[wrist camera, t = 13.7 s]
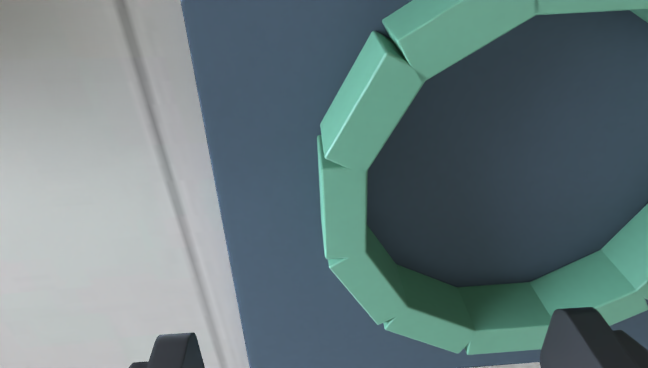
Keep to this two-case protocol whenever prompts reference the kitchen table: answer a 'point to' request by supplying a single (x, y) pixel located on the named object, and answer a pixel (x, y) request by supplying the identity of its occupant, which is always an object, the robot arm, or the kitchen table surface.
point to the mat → (415, 166)
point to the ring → (370, 136)
